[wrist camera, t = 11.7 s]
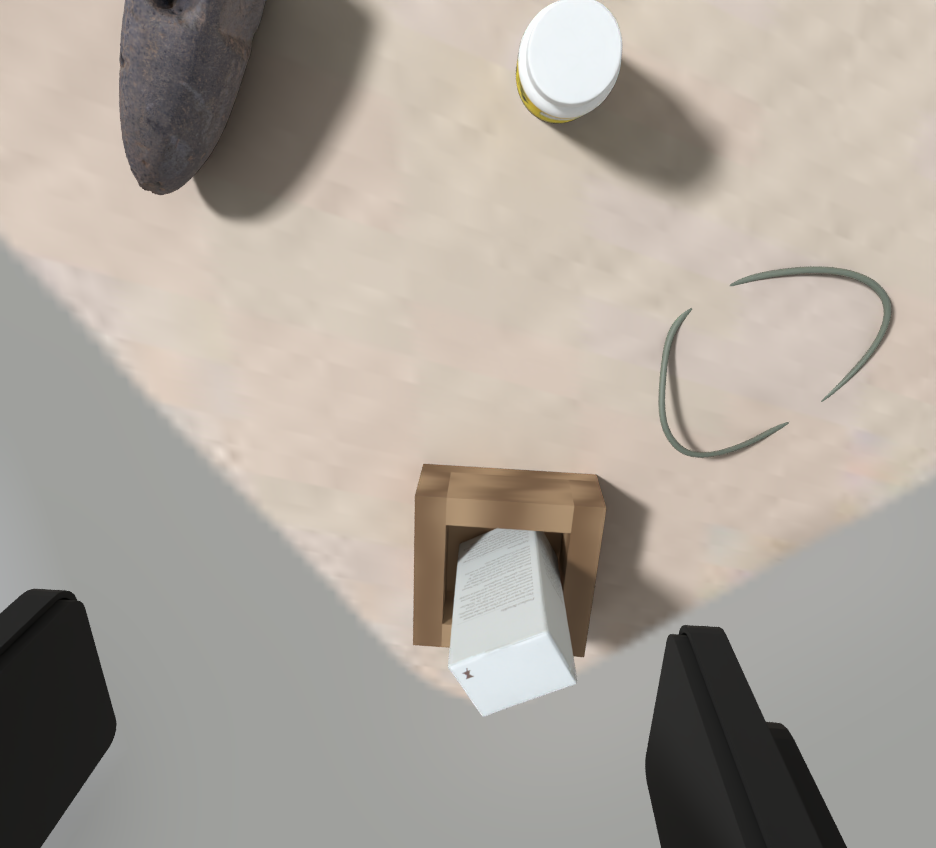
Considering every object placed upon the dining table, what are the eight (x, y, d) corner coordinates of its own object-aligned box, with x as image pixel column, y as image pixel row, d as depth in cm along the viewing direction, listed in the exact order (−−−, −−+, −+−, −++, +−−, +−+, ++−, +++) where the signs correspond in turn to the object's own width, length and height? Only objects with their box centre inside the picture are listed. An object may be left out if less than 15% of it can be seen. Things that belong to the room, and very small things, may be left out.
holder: (596, 474, 43) (606, 507, 39) (576, 614, 48) (584, 657, 44) (423, 463, 43) (414, 495, 39) (420, 603, 48) (413, 644, 44)
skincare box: (485, 586, 46) (479, 720, 35) (458, 541, 45) (443, 667, 33) (560, 556, 45) (580, 686, 34) (535, 509, 43) (547, 629, 32)
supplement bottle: (518, 22, 33) (524, -21, 25) (608, 26, 33) (641, -16, 25) (511, 123, 35) (514, 111, 27) (596, 127, 35) (623, 116, 27)
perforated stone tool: (219, 211, 38) (161, 221, 31) (135, 168, 37) (58, 170, 31) (306, -63, 32) (258, -119, 26) (209, -119, 31) (135, -190, 25)
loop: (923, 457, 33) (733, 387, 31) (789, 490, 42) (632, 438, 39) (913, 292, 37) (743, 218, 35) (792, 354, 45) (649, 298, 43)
